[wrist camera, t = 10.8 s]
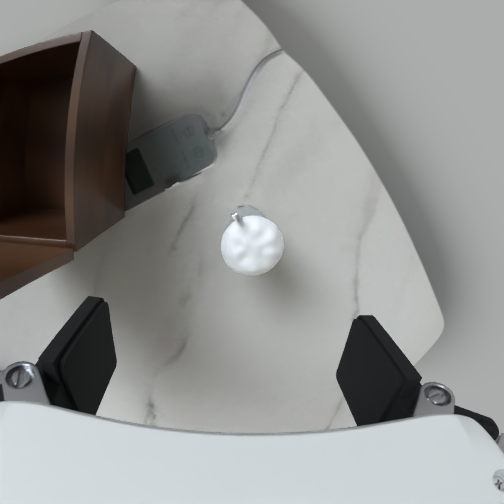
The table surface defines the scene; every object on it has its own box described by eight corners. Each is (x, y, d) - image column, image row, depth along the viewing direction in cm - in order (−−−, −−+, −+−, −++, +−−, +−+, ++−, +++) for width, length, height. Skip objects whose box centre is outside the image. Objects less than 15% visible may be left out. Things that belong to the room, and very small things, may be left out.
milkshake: (254, 183, 28) (267, 199, 19) (276, 231, 30) (298, 270, 20) (211, 202, 28) (202, 229, 19) (235, 250, 30) (238, 296, 21)
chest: (32, 81, 22) (-29, 68, 12) (136, 66, 23) (92, 29, 13) (25, 213, 27) (-35, 240, 17) (124, 217, 28) (76, 252, 18)
